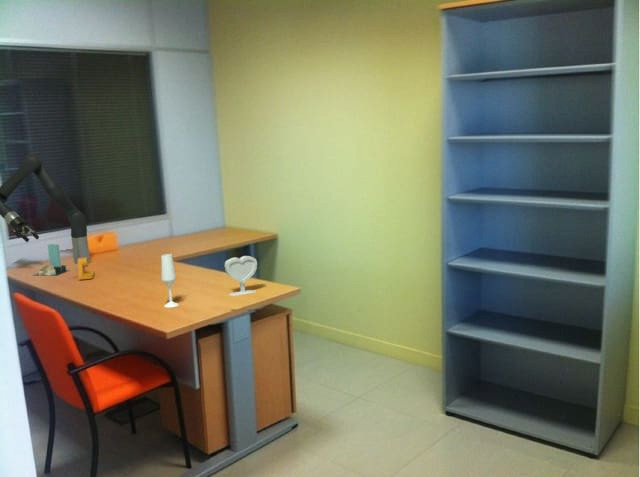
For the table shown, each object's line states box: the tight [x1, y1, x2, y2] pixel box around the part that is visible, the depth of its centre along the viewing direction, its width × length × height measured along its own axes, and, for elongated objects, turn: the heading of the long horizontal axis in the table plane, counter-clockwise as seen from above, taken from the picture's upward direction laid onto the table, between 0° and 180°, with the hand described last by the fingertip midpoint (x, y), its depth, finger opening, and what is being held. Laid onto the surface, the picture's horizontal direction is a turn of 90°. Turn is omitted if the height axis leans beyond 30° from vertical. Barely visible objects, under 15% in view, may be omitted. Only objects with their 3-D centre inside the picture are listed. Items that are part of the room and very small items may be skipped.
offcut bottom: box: [38, 270, 56, 275], centre depth 357 cm, size 8×4×2 cm, turn 76°
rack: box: [31, 264, 71, 277], centre depth 360 cm, size 16×14×4 cm
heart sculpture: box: [224, 255, 258, 297], centre depth 302 cm, size 16×5×18 cm, turn 117°
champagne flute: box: [160, 253, 180, 308], centre depth 285 cm, size 7×7×24 cm
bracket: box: [77, 257, 96, 281], centre depth 348 cm, size 11×7×12 cm, turn 13°
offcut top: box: [38, 264, 54, 271], centre depth 356 cm, size 7×4×2 cm, turn 80°
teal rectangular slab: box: [47, 243, 62, 267], centre depth 363 cm, size 6×2×16 cm, turn 76°
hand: (33, 239), depth 364 cm, fingers open, 8 cm apart
